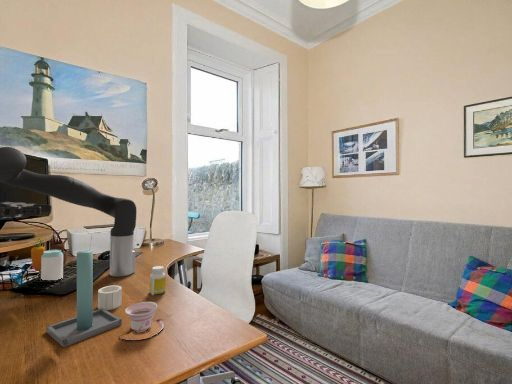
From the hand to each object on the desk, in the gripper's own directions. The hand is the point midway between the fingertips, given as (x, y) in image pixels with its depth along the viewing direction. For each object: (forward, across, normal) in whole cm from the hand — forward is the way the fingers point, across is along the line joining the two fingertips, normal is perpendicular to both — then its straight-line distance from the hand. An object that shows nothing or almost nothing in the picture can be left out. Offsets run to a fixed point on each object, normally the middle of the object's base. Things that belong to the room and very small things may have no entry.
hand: (46, 209), depth 76 cm
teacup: (+25, -11, +32) cm, 42 cm away
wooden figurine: (-11, +60, +32) cm, 69 cm away
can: (-8, +41, +32) cm, 53 cm away
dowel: (+11, -7, +31) cm, 33 cm away
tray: (+11, -7, +32) cm, 35 cm away
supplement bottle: (+30, +13, +32) cm, 46 cm away
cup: (+15, +6, +32) cm, 36 cm away
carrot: (-17, +54, +32) cm, 65 cm away
